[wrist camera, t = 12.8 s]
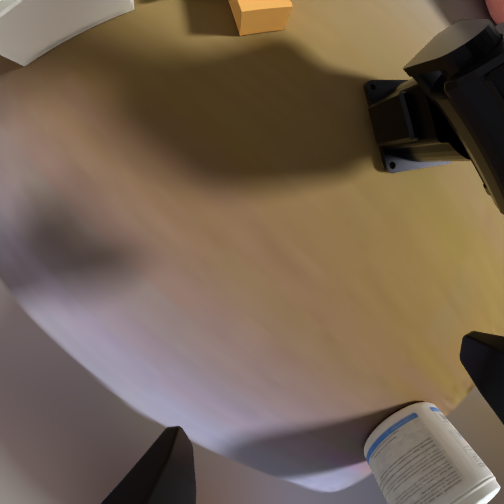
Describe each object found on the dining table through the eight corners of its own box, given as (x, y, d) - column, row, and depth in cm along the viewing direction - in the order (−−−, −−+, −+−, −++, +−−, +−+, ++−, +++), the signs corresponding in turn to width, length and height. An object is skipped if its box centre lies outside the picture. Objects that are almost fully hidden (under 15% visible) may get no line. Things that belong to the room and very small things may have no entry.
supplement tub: (353, 464, 25) (393, 560, 11) (371, 411, 23) (437, 528, 8) (421, 441, 26) (471, 518, 11) (446, 387, 23) (519, 471, 9)
